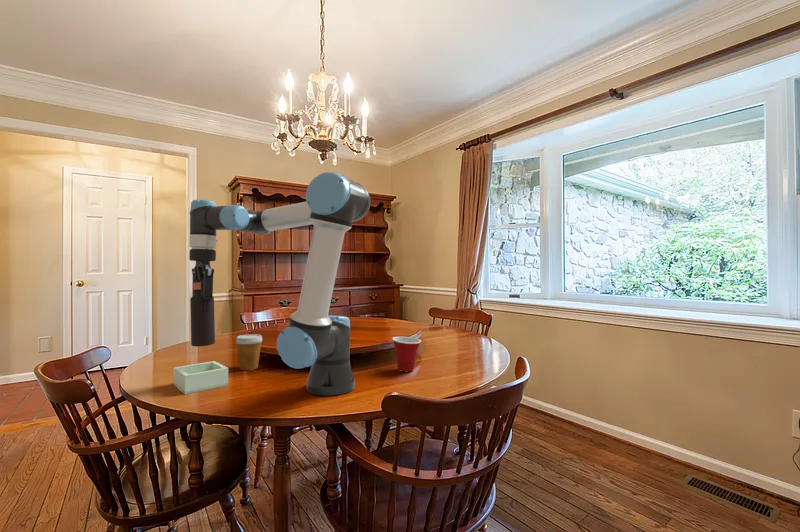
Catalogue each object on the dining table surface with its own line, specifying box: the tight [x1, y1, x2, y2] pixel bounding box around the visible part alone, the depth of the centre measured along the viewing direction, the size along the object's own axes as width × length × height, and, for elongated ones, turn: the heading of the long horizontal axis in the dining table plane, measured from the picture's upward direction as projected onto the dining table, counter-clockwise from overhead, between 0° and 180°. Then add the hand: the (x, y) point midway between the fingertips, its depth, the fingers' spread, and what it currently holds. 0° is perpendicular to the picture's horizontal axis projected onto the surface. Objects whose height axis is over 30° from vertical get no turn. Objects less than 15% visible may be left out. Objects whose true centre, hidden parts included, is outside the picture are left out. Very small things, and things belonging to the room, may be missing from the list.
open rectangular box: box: [172, 360, 229, 395], centre depth 118 cm, size 12×12×6 cm
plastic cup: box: [392, 336, 422, 371], centre depth 137 cm, size 11×11×12 cm
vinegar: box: [189, 282, 216, 348], centre depth 118 cm, size 7×7×20 cm
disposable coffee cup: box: [235, 333, 263, 371], centre depth 138 cm, size 10×10×12 cm
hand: (201, 321), depth 118 cm, fingers open, 4 cm apart
